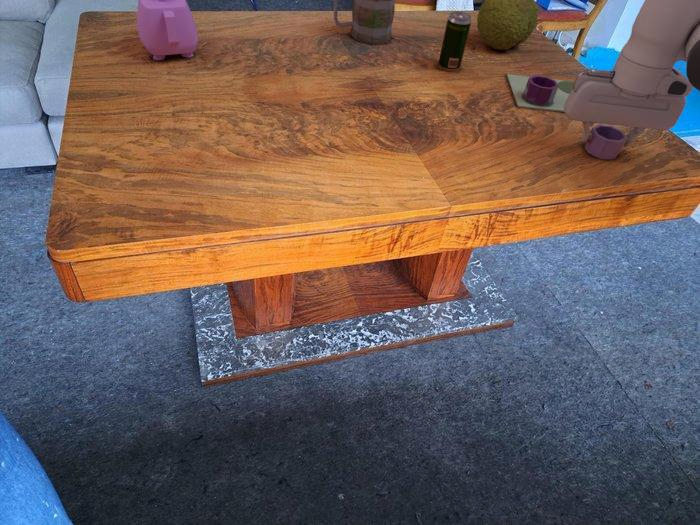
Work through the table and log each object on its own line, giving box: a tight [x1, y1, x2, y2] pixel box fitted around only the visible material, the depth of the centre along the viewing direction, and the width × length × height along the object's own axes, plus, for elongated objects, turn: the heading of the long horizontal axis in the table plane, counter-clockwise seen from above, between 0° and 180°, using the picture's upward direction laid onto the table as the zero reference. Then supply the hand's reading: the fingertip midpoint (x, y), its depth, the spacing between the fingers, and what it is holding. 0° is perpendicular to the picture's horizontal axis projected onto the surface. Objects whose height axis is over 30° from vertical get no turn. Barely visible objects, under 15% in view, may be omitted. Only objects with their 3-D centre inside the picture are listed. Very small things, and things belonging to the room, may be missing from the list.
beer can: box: [438, 10, 472, 73], centre depth 119 cm, size 5×5×12 cm
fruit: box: [476, 0, 540, 51], centre depth 131 cm, size 16×14×15 cm
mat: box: [506, 73, 575, 113], centre depth 117 cm, size 20×16×1 cm
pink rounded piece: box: [136, 0, 199, 61], centre depth 112 cm, size 20×12×13 cm, turn 24°
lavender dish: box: [584, 124, 627, 161], centre depth 99 cm, size 6×6×4 cm
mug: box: [333, 0, 396, 45], centre depth 129 cm, size 16×11×12 cm
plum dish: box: [524, 75, 559, 106], centre depth 112 cm, size 6×6×4 cm
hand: (604, 142), depth 99 cm, fingers closed on lavender dish, 6 cm apart
